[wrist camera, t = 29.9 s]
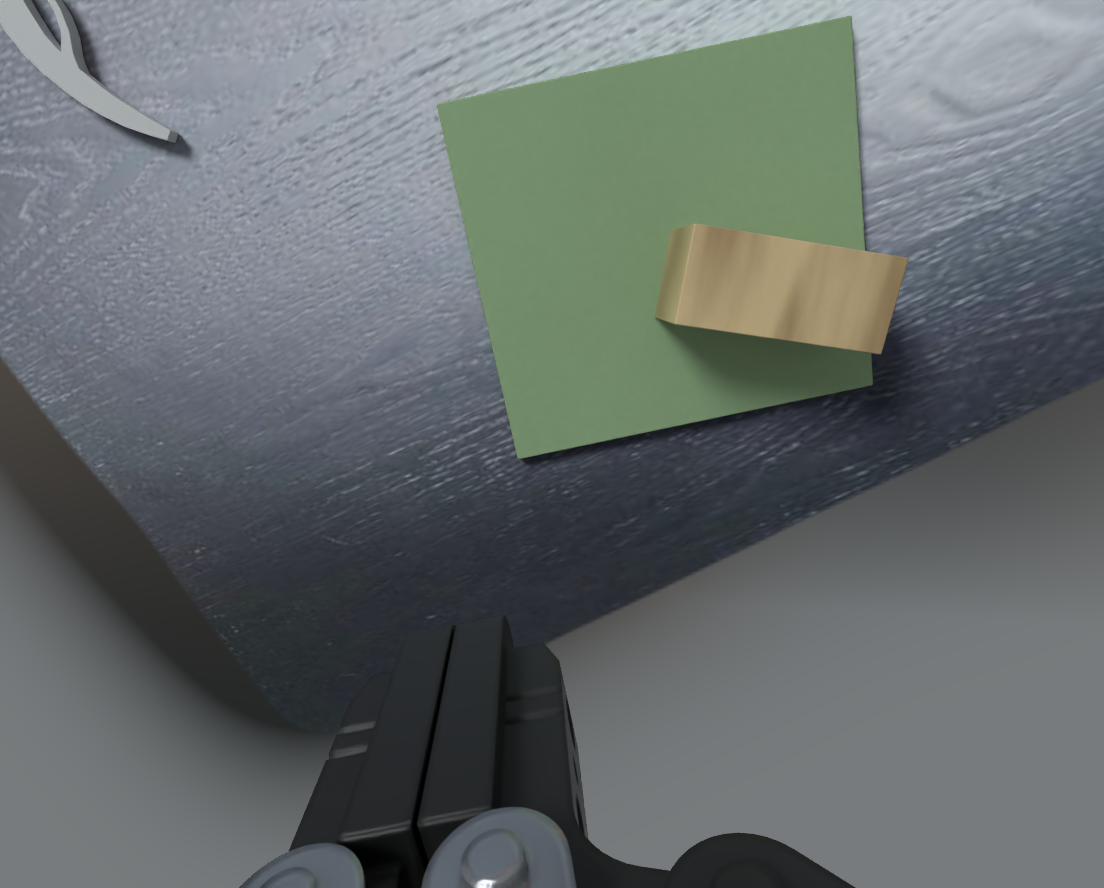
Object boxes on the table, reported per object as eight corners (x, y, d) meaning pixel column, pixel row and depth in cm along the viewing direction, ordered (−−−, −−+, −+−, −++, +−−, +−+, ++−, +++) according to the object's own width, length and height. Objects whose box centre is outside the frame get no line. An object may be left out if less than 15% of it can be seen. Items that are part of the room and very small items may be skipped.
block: (670, 230, 31) (857, 259, 32) (654, 317, 32) (835, 344, 33) (694, 223, 27) (909, 258, 28) (674, 324, 28) (881, 354, 29)
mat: (867, 383, 34) (873, 385, 34) (518, 456, 34) (517, 459, 34) (845, 20, 29) (852, 14, 29) (438, 106, 30) (436, 103, 29)
